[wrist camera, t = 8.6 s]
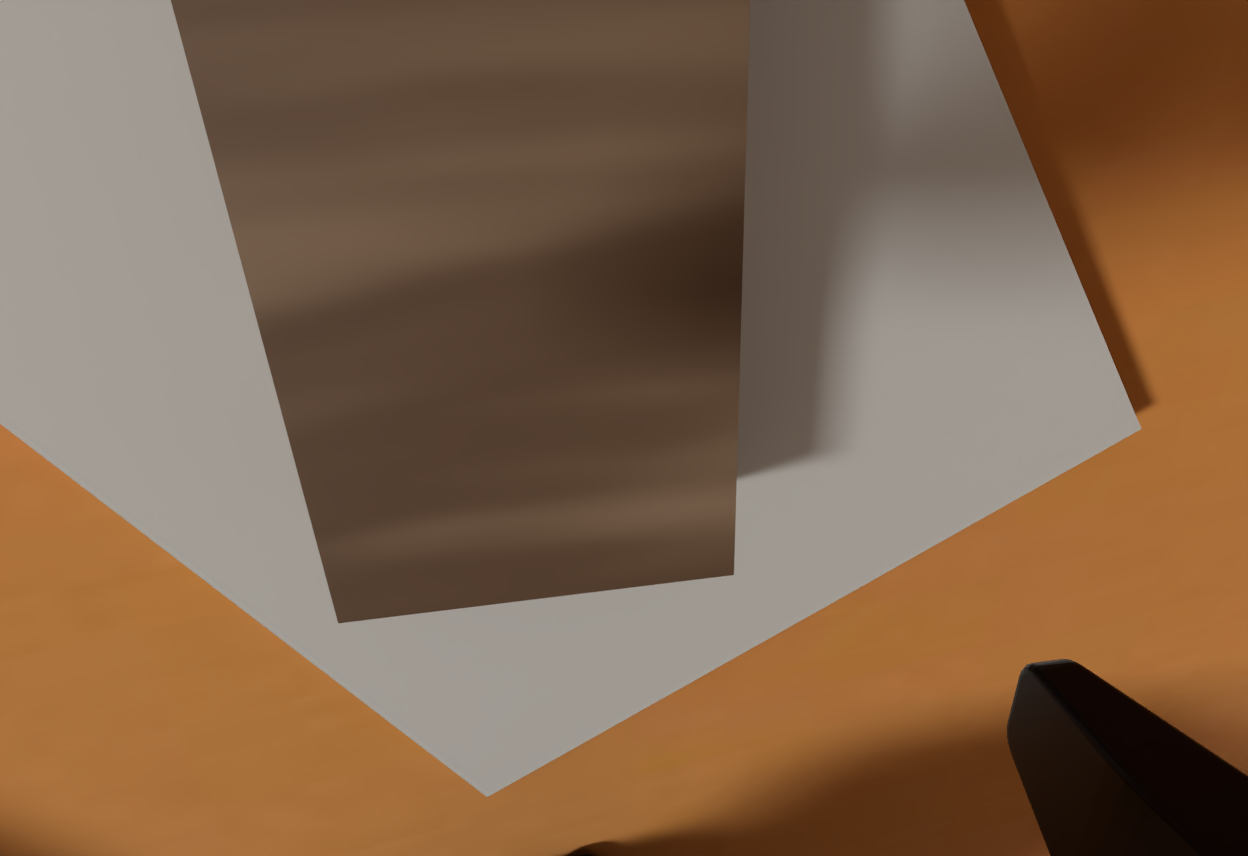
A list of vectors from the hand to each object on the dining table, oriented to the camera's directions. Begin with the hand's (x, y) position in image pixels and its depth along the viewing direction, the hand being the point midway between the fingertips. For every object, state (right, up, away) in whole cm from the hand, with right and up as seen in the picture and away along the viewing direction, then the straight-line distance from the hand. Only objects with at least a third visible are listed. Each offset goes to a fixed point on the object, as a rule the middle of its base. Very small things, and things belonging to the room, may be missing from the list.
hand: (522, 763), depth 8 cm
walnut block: (-1, +1, +9) cm, 9 cm away
